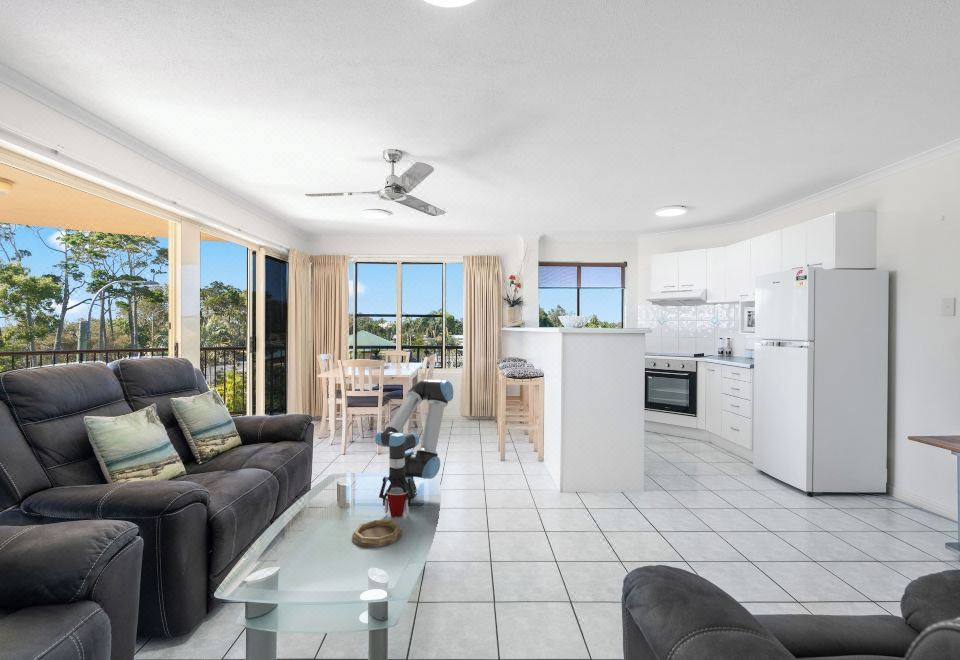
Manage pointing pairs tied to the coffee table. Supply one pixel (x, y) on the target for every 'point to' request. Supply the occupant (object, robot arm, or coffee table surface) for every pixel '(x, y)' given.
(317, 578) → the coffee table surface
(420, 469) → the robot arm
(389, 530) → the ring base
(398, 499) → the plastic cup
